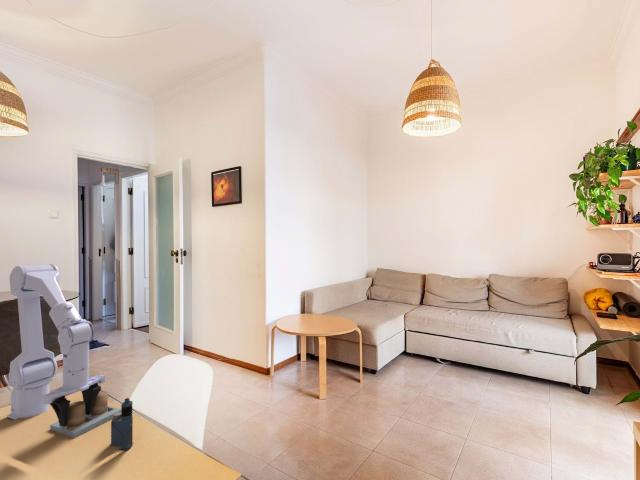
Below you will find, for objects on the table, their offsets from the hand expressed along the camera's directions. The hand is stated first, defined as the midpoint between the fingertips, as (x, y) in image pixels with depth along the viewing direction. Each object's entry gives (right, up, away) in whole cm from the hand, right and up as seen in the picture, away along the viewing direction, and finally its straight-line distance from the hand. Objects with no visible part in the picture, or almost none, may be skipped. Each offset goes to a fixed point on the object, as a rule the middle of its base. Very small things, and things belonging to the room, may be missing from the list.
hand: (75, 419), depth 89 cm
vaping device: (+17, -3, -7) cm, 19 cm away
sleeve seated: (+2, -2, +6) cm, 7 cm away
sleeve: (0, -2, 0) cm, 2 cm away
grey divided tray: (+1, -3, +3) cm, 4 cm away
